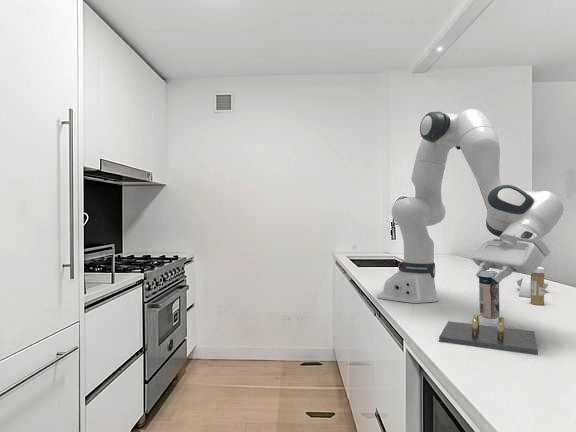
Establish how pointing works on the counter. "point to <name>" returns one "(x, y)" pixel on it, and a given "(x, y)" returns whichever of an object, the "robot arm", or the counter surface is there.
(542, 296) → the sprinkles bottle
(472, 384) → the counter surface
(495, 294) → the beer can
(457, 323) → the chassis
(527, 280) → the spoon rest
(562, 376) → the counter surface
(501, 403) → the counter surface
